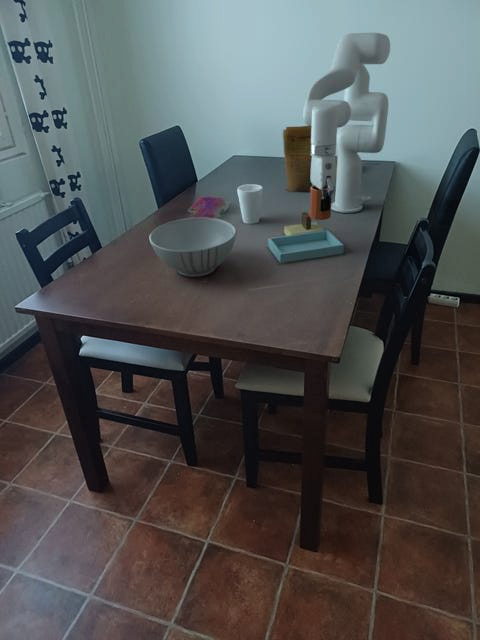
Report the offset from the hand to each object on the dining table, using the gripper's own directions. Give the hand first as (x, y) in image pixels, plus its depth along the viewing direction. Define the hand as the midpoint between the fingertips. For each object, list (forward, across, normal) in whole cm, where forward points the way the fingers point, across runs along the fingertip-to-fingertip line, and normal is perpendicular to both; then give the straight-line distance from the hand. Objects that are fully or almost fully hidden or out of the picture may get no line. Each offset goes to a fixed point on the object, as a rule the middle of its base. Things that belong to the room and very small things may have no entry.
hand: (320, 206), depth 152 cm
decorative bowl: (+15, -1, +42) cm, 45 cm away
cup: (+3, 0, 0) cm, 3 cm away
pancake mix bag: (+15, +60, -17) cm, 64 cm away
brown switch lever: (+12, +13, 0) cm, 17 cm away
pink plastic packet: (+15, +45, +30) cm, 56 cm away
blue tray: (+15, 0, +5) cm, 16 cm away
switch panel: (+15, +12, +1) cm, 19 cm away
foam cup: (+15, +33, +15) cm, 39 cm away
